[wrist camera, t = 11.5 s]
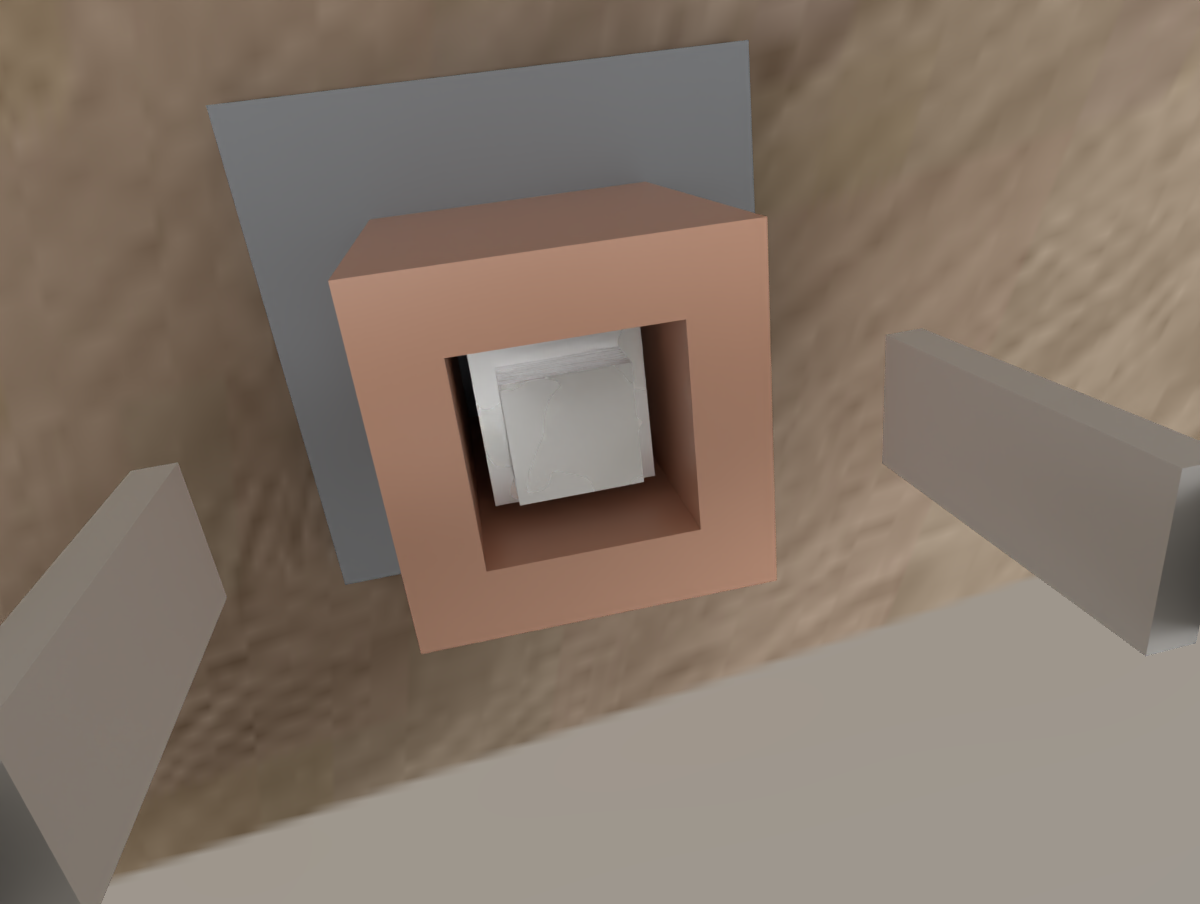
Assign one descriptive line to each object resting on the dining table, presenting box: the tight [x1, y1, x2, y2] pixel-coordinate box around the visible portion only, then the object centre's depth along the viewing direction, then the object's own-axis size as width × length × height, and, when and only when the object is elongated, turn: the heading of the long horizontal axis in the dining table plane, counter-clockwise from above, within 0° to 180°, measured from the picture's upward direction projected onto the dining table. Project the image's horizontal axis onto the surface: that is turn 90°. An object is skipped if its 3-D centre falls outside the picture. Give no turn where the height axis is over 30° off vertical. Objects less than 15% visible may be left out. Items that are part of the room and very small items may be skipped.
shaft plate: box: [206, 40, 755, 585], centre depth 24 cm, size 14×14×1 cm
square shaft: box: [467, 327, 655, 506], centre depth 20 cm, size 4×4×8 cm
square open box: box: [328, 182, 777, 654], centre depth 19 cm, size 8×8×9 cm
